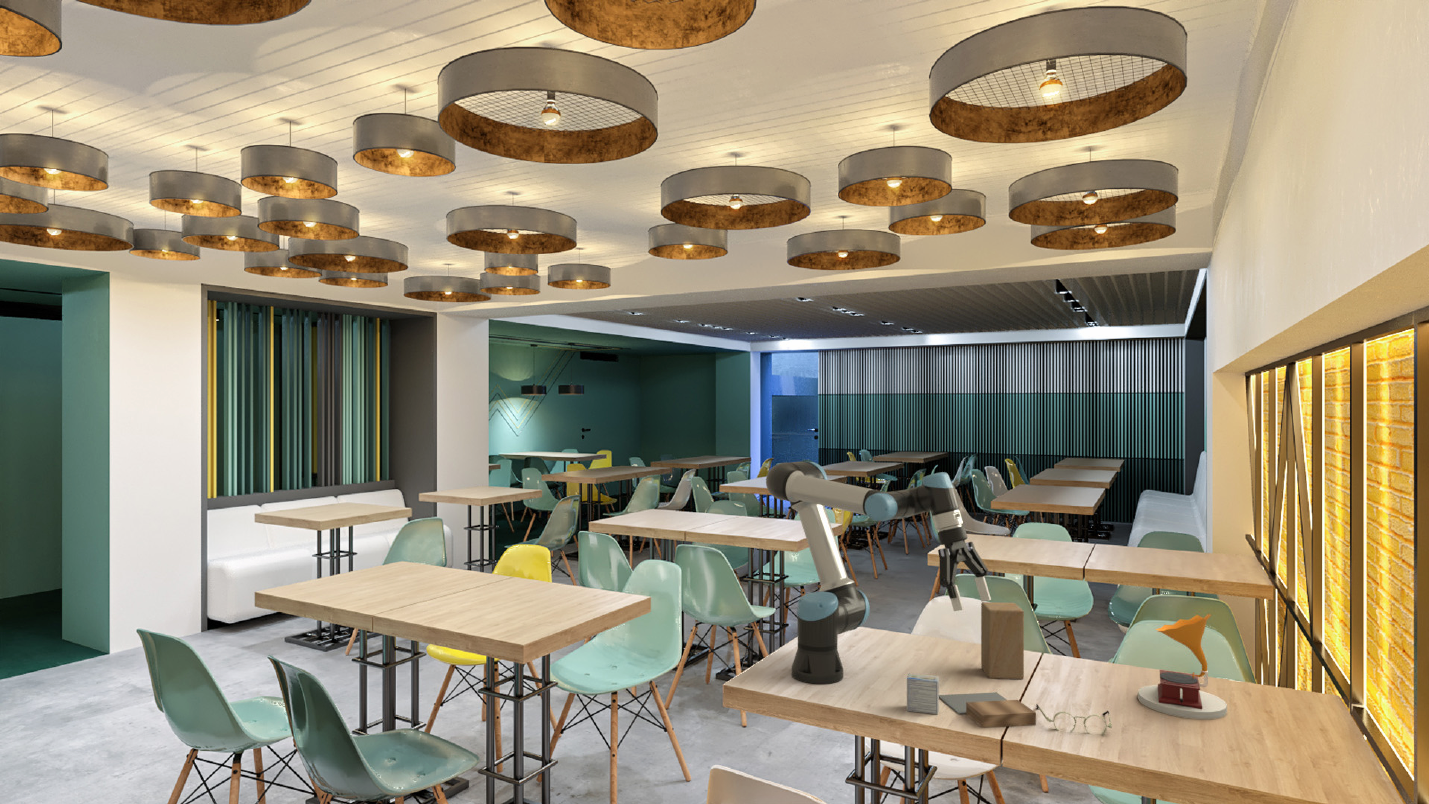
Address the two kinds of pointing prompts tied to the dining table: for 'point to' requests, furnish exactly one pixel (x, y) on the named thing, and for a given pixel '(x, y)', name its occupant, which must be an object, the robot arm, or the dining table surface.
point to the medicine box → (923, 693)
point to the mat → (968, 700)
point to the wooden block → (1002, 640)
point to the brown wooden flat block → (1000, 713)
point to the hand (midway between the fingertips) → (972, 605)
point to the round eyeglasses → (1078, 717)
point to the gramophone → (1184, 679)
